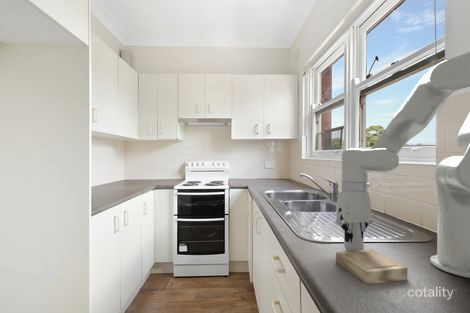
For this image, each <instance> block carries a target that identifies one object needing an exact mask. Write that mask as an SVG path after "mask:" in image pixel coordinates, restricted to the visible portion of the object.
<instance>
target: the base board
mask: <svg viewBox="0 0 470 313" xmlns="http://www.w3.org/2000/svg"><path fill="white" fill-rule="evenodd" d="M335 255H336V256H335V263H336V264H337V265H339V266H340V267H342V268H343V269H344V270H346V271H347V272H349V273H350V275H351V274H352V275H353V276H354V277H355V278H357V279H358V280H360V281H361V282H363V284H365V285H367V286H368V285H374V284H381V283H382V284H383V283H390V282H397V281H406V280H407V281H408V267H406V265H403V264H401V263H399V262H397V261H395V260H392V259H391V258H389V257H387V256H385V255H384V254H381V253H380V252H377V251H375V250H374V249H370V248H369V249H363V250H358V251H338V252H335Z"/></svg>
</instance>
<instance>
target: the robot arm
mask: <svg viewBox="0 0 470 313" xmlns="http://www.w3.org/2000/svg"><path fill="white" fill-rule="evenodd" d="M466 88H470V51H468V52H466V53H462V54H460V55H457V56H456V55H455V56H454V57H451V58H449V59H445V60H443V61H441V62H439V63H438V64H436V65H435V66H433V68H431V69H430V70H429V71H428V72H426V74H424V75H423V76H422V77H421V78H420V80H419V81H418V83H417V84H416V85H415V87H414V88H413V90H412V91H411V93H410V94H409V95H408V97H407V98H406V100H405V101H404V103H403V104H402V105H401V107H400V108H399V109H398V110H397V112H396V113H395V115H394V116H393V117H392V119H391V121H390V122H389V123H388V125H387V126H386V128H385V129H384V130H383V132H382V133H381V134H380V136H379V137H378V138H377V139H376V141H375V142H374V143H373V145H372V146H371V148H369V149H363V148H347V149H344V150H343V151H342V153H341V190H339V192H338V194H337V200H336V208H335V221H334V224H335V225H337V226H339V227H340V228H341V229H342V231H343V232H344V235H343V236H344V241H346V242H349V238H350V240H351V244H352V238H353V233H351V231H352V223H360V228H361V235H362V240H363V241H364V233H365V232H366V229H367V228H368V227H369V225H371V224H372V223H373V219H372V205H371V204H372V202H371V198H370V192H369V190H368V188H369V187H370V183H368V179H369V178H368V176H369V175H368V172H374V173H375V172H376V173H381V174H386V173H387V174H388V173H390V172H393V171H394V170H395V169H397V167H399V165H400V164H399V163H400V157H399V155H398V154H399V152H400V151H401V150H402V149H403V147H404V146H405V145H406V144H407V143H409V141H410V140H412V139H413V138H414V137H416V136H417V135H419V134H420V133H422V131H424V129H425V128H427V126H428V125H429V124H430V123H431V121H432V120H433V119H434V118H435V116H436V114H438V112H439V110H440V109H441V108H442V107H443V106H444V104H445V103H446V101H447V100H448V98H450V96H451V95H452V94H453V93H455V92H456V91H459V90H462V89H466ZM468 113H469V114H468V115H467V117H466V119H465V120H464V123H463V124H462V126H461V128H460V129H459V132H458V134H457V137H456V142H457V145H458V147H459V148H460V149H461V150H463V151H465V152H464V154H463V155H455V156H454V155H453V156H450V157H446V158H445V159H443V160H441V161H440V162H439V163H438V165H437V167H436V169H435V172H434V173H435V174H434V176H435V185H436V191H437V230H436V231H437V232H436V234H437V238H436V240H437V246H436V248H437V252H436V254H435V255H431V256H430V258H429V260H430V263H431V264H432V265H433V266H434V267H436V268H438V269H439V270H442V271H444V272H446V273H449V274H453V275H456V276H459V277H464V278H468V279H470V112H468Z"/></svg>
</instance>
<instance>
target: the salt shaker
mask: <svg viewBox="0 0 470 313" xmlns="http://www.w3.org/2000/svg"><path fill="white" fill-rule="evenodd" d="M351 233H353V238H352V244H351V240H350V238H349V242H346V241H345V240H344V242H343V247H344V248H345V250H346V251H345V252H347V251H358V250H365V244H364V239H363V240H362V235H361V228H360V223H352V231H351Z"/></svg>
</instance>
